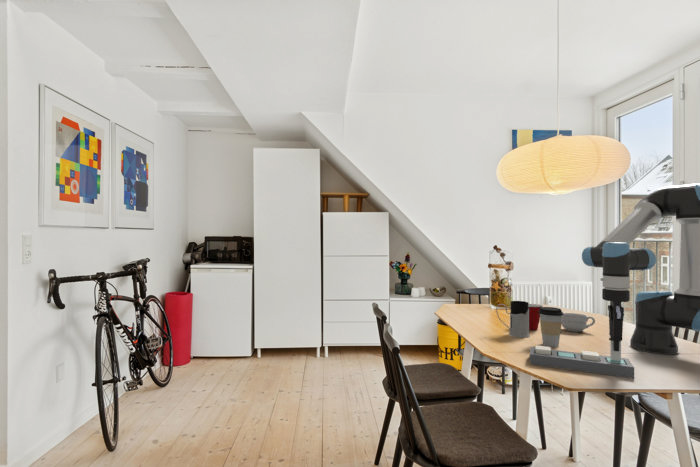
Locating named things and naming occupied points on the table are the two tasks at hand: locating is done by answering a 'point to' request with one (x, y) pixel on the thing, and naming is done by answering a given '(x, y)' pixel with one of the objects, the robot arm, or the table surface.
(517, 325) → the grey and black mug
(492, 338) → the table surface
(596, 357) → the white key
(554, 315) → the coffee cup
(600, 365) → the keyboard
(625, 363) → the teal key
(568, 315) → the teacup
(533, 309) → the plastic cup
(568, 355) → the teal key
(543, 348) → the white key
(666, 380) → the table surface
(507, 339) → the table surface
